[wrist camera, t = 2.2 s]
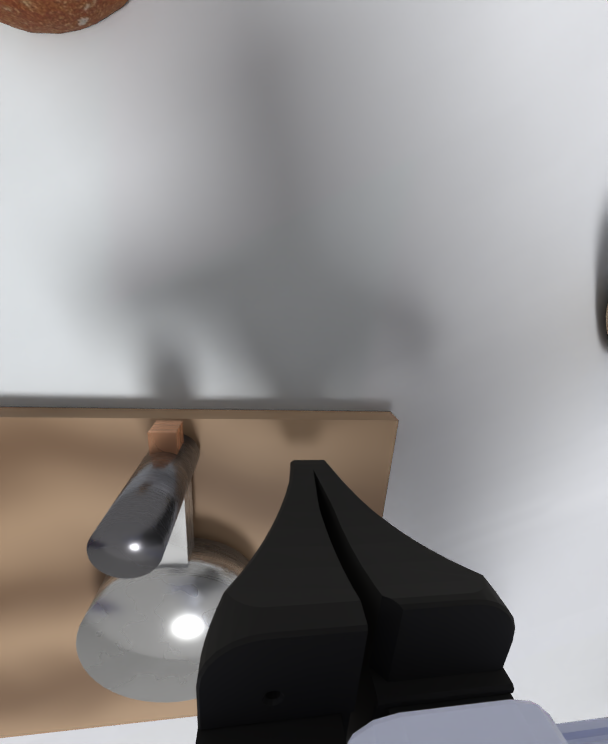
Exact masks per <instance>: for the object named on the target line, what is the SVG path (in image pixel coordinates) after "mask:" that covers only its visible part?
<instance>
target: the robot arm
mask: <svg viewBox="0 0 608 744" xmlns="http://www.w3.org/2000/svg"><path fill="white" fill-rule="evenodd" d="M514 631H515V624H514V618H513V616H512V615H511V613H510V612H509V610H508V609H507V607H506V606H505V604H504V603H503V601H502V600H501V599H500V597H499V596H498V594H497V593H496V592H495V590H494V589H493V588H492V586H491V585H490V584H489V583H488V581H487V580H486V579H485V578H484V576H483V575H481V574H479V573H476V572H474V571H472V570H470V569H468V568H466V567H463V566H461V565H459V564H457V563H455V562H453V561H450V560H448V559H446V558H445V557H443V556H441V555H439V554H437V553H435V552H434V551H432V550H430V549H428V548H426V547H425V546H423V545H421V544H420V543H418V542H416V541H415V540H413V539H411V538H410V537H408V536H407V535H405V534H404V533H402V532H401V531H399V530H398V529H396V528H395V527H394V526H392V525H391V524H389V523H388V522H387V521H386V520H384V519H383V518H382V517H380V516H379V515H378V514H377V513H375V512H374V511H373V510H372V509H371V508H369V507H368V506H367V505H366V504H365V503H364V502H363V501H362V500H361V499H360V498H359V497H358V496H357V495H356V494H355V493H354V492H353V491H352V490H351V489H350V488H349V487H348V486H347V485H346V484H345V483H344V482H343V481H342V480H341V478H340V477H339V476H338V475H337V474H336V473H335V472H334V470H333V469H332V468H331V467H330V466H329V465H328V463H327V462H326V461H325V460H293V461H292V462H291V463H290V476H289V484H288V487H287V491H286V494H285V497H284V499H283V502H282V505H281V507H280V510H279V512H278V514H277V516H276V519H275V521H274V523H273V525H272V527H271V528H270V530H269V532H268V534H267V535H266V537H265V539H264V541H263V542H262V544H261V545H260V547H259V548H258V550H257V551H256V553H255V554H254V556H253V557H252V558H251V560H250V561H249V563H248V564H247V565H246V567H245V568H244V569H243V571H242V572H241V573H240V574H239V575H238V576H237V578H236V579H235V580H234V581H233V582H232V583H231V585H230V586H229V587H228V588H227V589H226V590H225V592H224V593H223V595H222V597H221V599H220V602H219V604H218V606H217V609H216V611H215V613H214V616H213V618H212V621H211V623H210V626H209V629H208V631H207V634H206V637H205V641H204V644H203V648H202V652H201V656H200V663H199V670H198V677H197V683H196V699H197V718H198V732H197V738H196V744H608V717H604V718H597V719H589V720H582V721H574V722H567V723H560V724H555V722H554V721H553V719H552V718H551V716H550V715H549V714H548V713H547V712H546V711H545V710H544V709H542V708H541V707H540V706H539V705H538V704H536V703H533V702H531V701H525V700H514V699H513V697H512V695H511V693H513V691H514V687H513V683H512V682H511V680H510V678H509V677H508V675H507V673H506V672H505V670H504V668H503V665H504V663H505V660H506V657H507V655H508V652H509V649H510V647H511V644H512V641H513V636H514Z"/></svg>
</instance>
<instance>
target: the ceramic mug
mask: <svg viewBox="0 0 608 744" xmlns="http://www.w3.org/2000/svg"><path fill="white" fill-rule="evenodd" d="M606 328H607V334H608V305H607V310H606Z"/></svg>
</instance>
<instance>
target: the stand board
mask: <svg viewBox="0 0 608 744" xmlns="http://www.w3.org/2000/svg"><path fill="white" fill-rule="evenodd" d="M157 420H158V421H183V434H185V435H187V436H189V437H190V438H192V439H193V440H194V441H195V442H196V444H197V445H198V448H199V452H200V456H199V460H198V463H197V465H196V468H195V471H194V474H193V476H192V479H191V483H192V505H193V526H194V537H195V538H204V539H208V540H213V541H216V542H219V543H222V544H225V545H227V546H229V547H231V548H233V549H235V550H237V551H238V552H240V553H241V554H242V555H244V556H245V557H246V558H247V559H248V560H249V561H250V560H251V558H252V557H253V556H254V554H255V553H256V551H257V550H258V548H259V547H260V545H261V544H262V542H263V541H264V539H265V537H266V535H267V534H268V532H269V530H270V528H271V527H272V525H273V523H274V521H275V519H276V516H277V514H278V512H279V510H280V507H281V505H282V502H283V499H284V497H285V494H286V491H287V487H288V484H289V476H290V463H291V462H292V461H293V460H325V461H326V462H327V463H328V465H329V466H330V467H331V468H332V469H333V470H334V472H335V473H336V474H337V475H338V476H339V477H340V478H341V480H342V481H343V482H344V483H345V484H346V485H347V486H348V487H349V488H350V489H351V490H352V491H353V492H354V493H355V494H356V495H357V496H358V497H359V498H360V499H361V500H362V501H363V502H364V503H365V504H366V505H367V506H368V507H369V508H371V509H372V510H373V511H374V512H375V513H377V514H378V515H379V516H380V517H382V516H383V510H384V504H385V498H386V492H387V486H388V480H389V474H390V468H391V463H392V457H393V451H394V445H395V439H396V433H397V427H398V421H399V420H398V419H397V418H396V417H395V416H394V415H393V414H392V413H391V412H379V411H295V410H212V409H129V408H46V407H0V738H5V737H14V736H23V735H32V734H41V733H50V732H58V731H67V730H76V729H85V728H94V727H103V726H112V725H120V724H129V723H138V722H147V721H156V720H165V719H174V718H183V717H191V716H197V699H192V700H187V701H180V702H167V703H165V702H147V701H141V700H135V699H131V698H128V697H124V696H122V695H119V694H117V693H114V692H112V691H110V690H108V689H106V688H105V687H103V686H102V685H100V684H99V683H97V682H96V681H95V680H94V679H93V678H92V677H91V676H90V675H89V674H88V673H87V672H86V670H85V669H84V668H83V666H82V664H81V662H80V660H79V657H78V654H77V649H76V637H77V632H78V629H79V626H80V624H81V622H82V620H83V618H84V616H85V614H86V612H87V611H88V609H89V607H90V605H91V603H92V601H93V599H94V597H95V596H96V594H97V592H98V590H99V588H100V586H101V584H102V582H103V581H104V579H105V577H106V574H104V573H102V572H101V571H99V570H98V569H96V568H95V567H94V566H93V565H92V563H91V562H90V560H89V558H88V555H87V543H88V540H89V538H90V537H91V535H92V534H93V532H94V531H95V529H96V528H97V526H98V525H99V523H100V522H101V520H102V519H103V518H104V516H105V515H106V513H107V512H108V510H109V509H110V507H111V506H112V504H113V503H114V501H115V500H116V498H117V497H118V495H119V494H120V492H121V491H122V489H123V488H124V486H125V485H126V483H127V482H128V480H129V479H130V477H131V476H132V474H133V473H134V472H135V470H136V469H137V467H138V466H139V464H140V463H141V461H142V460H143V458H144V457H145V455H146V454H147V452H148V451H149V445H148V434H147V432H148V431H149V430H150V428H151V427H152V426H153V424H154V423H155V422H156V421H157Z"/></svg>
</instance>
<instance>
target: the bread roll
mask: <svg viewBox="0 0 608 744" xmlns="http://www.w3.org/2000/svg"><path fill="white" fill-rule="evenodd" d="M127 1H128V0H0V22H2V23H4V24H7V25H10V26H11V27H14V28H17V29H21V30H24V31H28V32H32V33H58V34H59V33H65V32H71V31H76V30H81V29H83V28H86V27H89V26H91V25H94V24H96V23H98V22H99V21H101V20H103V19H104V18H106V17H107V16H109V15H110V14H112V13H114V12H115V11H117V10H118V9H120V8H121V7H123V6H124V4H125V3H126V2H127Z"/></svg>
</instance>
